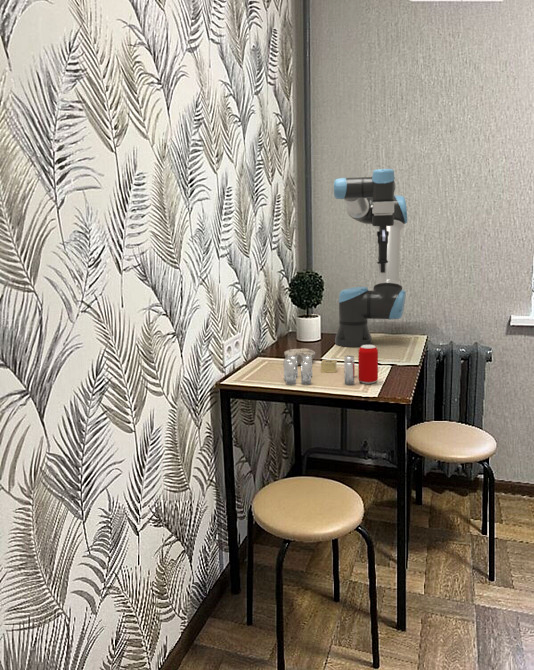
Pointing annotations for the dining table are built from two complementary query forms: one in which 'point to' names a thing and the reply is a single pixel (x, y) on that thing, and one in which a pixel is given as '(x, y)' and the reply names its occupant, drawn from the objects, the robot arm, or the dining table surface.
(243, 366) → the dining table surface
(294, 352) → the rock
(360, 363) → the beverage can
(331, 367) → the nut
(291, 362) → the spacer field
